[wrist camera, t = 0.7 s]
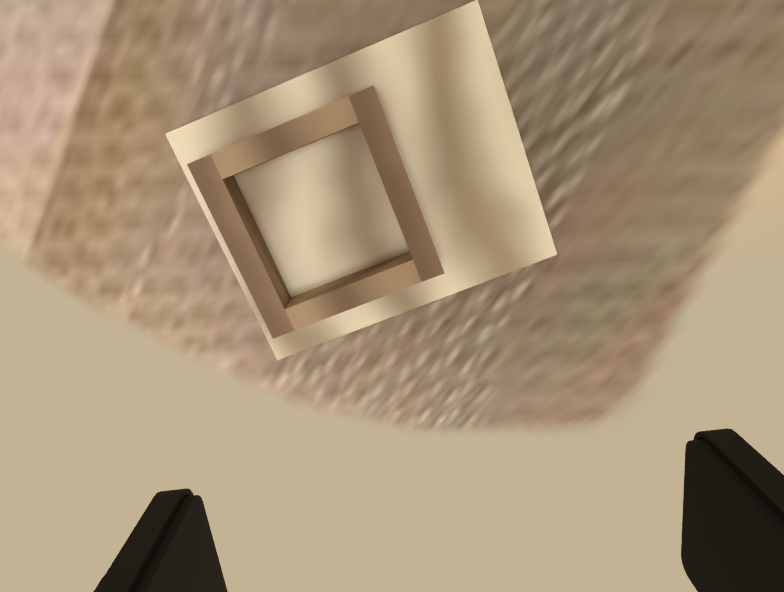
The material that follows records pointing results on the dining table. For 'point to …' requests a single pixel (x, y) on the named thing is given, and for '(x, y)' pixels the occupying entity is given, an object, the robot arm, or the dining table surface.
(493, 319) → the dining table surface
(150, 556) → the robot arm
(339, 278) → the socket stand
